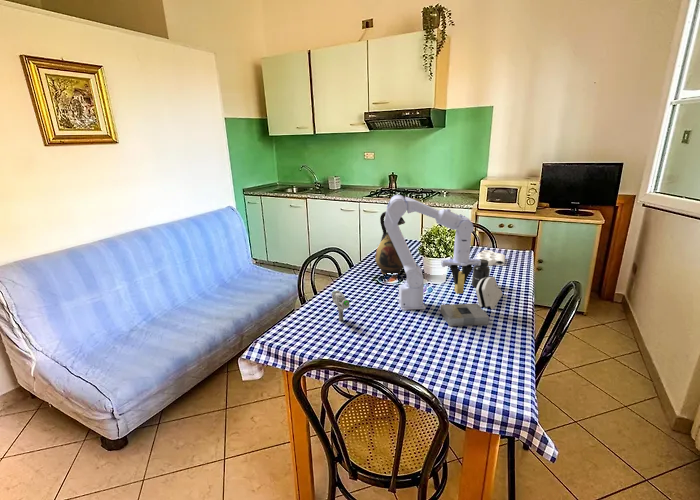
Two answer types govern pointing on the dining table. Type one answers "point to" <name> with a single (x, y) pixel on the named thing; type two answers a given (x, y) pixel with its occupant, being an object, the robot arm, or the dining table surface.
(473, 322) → the grey slotted plate
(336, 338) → the dining table surface
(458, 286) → the wood grain block
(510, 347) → the dining table surface
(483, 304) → the white angular device
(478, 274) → the supplement bottle
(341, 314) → the mechanical component
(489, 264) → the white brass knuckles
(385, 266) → the ceramic jug
